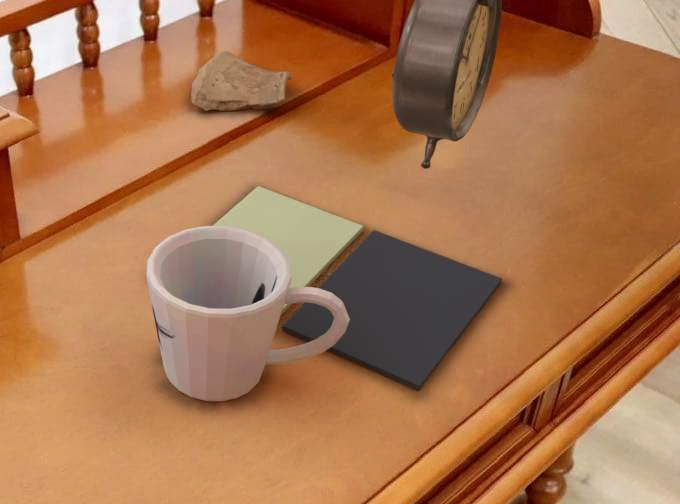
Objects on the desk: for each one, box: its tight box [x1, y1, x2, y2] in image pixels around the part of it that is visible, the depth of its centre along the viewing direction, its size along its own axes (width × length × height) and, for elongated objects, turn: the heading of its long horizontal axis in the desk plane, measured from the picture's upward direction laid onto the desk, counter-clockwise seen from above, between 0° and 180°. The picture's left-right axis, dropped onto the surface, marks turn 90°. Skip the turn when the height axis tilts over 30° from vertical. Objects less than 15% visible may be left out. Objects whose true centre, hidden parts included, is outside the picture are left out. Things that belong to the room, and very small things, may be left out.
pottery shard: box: [190, 50, 292, 112], centre depth 115 cm, size 11×4×10 cm
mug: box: [145, 225, 350, 402], centre depth 81 cm, size 10×15×10 cm
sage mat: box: [212, 185, 364, 317], centre depth 95 cm, size 11×16×1 cm
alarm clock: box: [391, 0, 503, 170], centre depth 76 cm, size 11×5×16 cm, turn 150°
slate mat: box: [281, 229, 503, 392], centre depth 90 cm, size 12×16×1 cm
